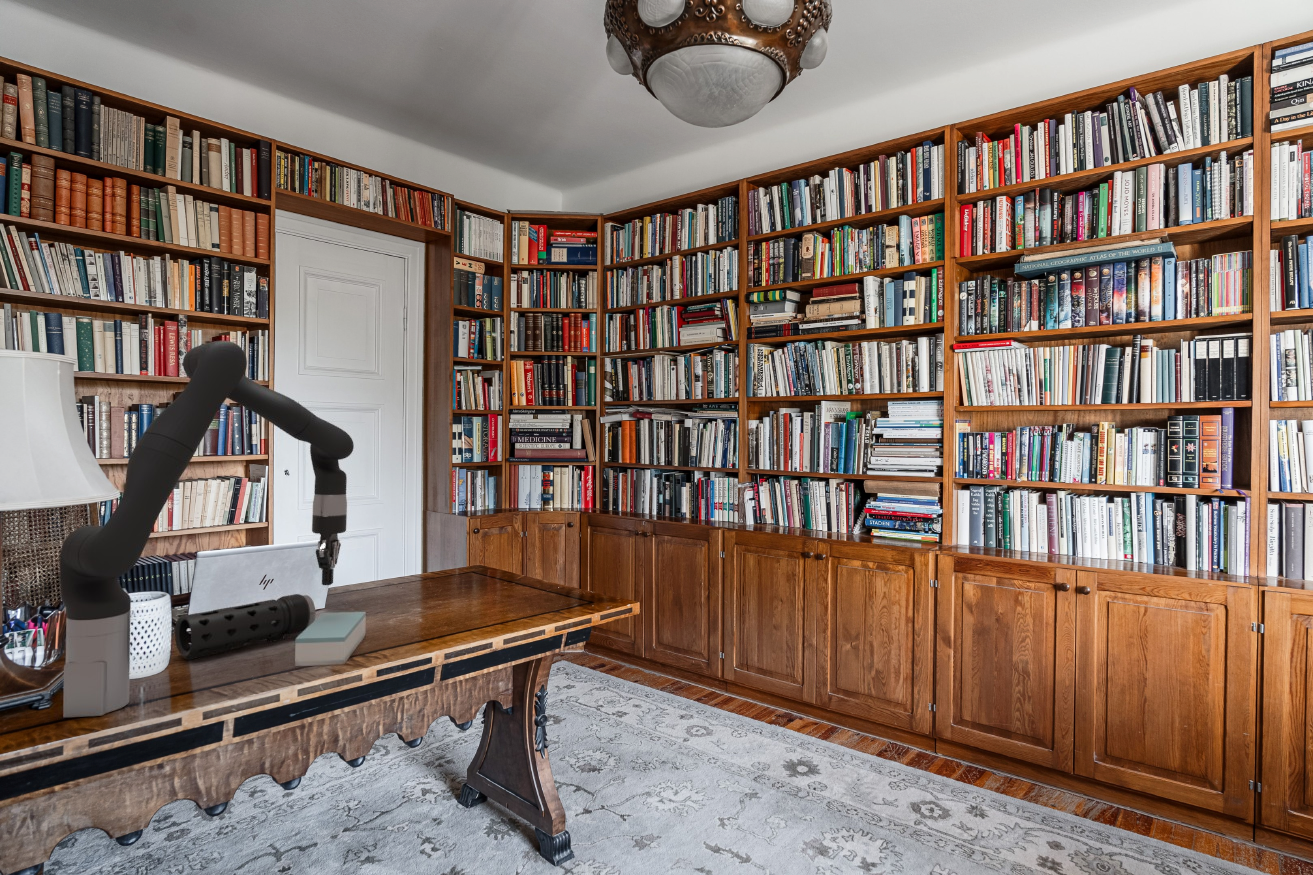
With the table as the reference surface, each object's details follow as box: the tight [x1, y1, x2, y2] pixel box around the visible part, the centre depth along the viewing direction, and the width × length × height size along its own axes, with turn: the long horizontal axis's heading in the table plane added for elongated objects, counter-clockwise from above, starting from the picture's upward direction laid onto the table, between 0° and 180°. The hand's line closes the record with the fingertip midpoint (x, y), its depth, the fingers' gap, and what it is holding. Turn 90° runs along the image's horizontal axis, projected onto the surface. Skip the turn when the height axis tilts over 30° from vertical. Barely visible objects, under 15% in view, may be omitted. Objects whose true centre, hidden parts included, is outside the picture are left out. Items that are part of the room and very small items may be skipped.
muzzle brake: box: [174, 593, 316, 661], centre depth 166 cm, size 10×28×10 cm, turn 145°
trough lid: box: [294, 611, 367, 644], centre depth 164 cm, size 22×10×1 cm, turn 11°
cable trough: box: [294, 616, 367, 667], centre depth 164 cm, size 22×10×5 cm, turn 11°
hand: (327, 584), depth 169 cm, fingers closed
